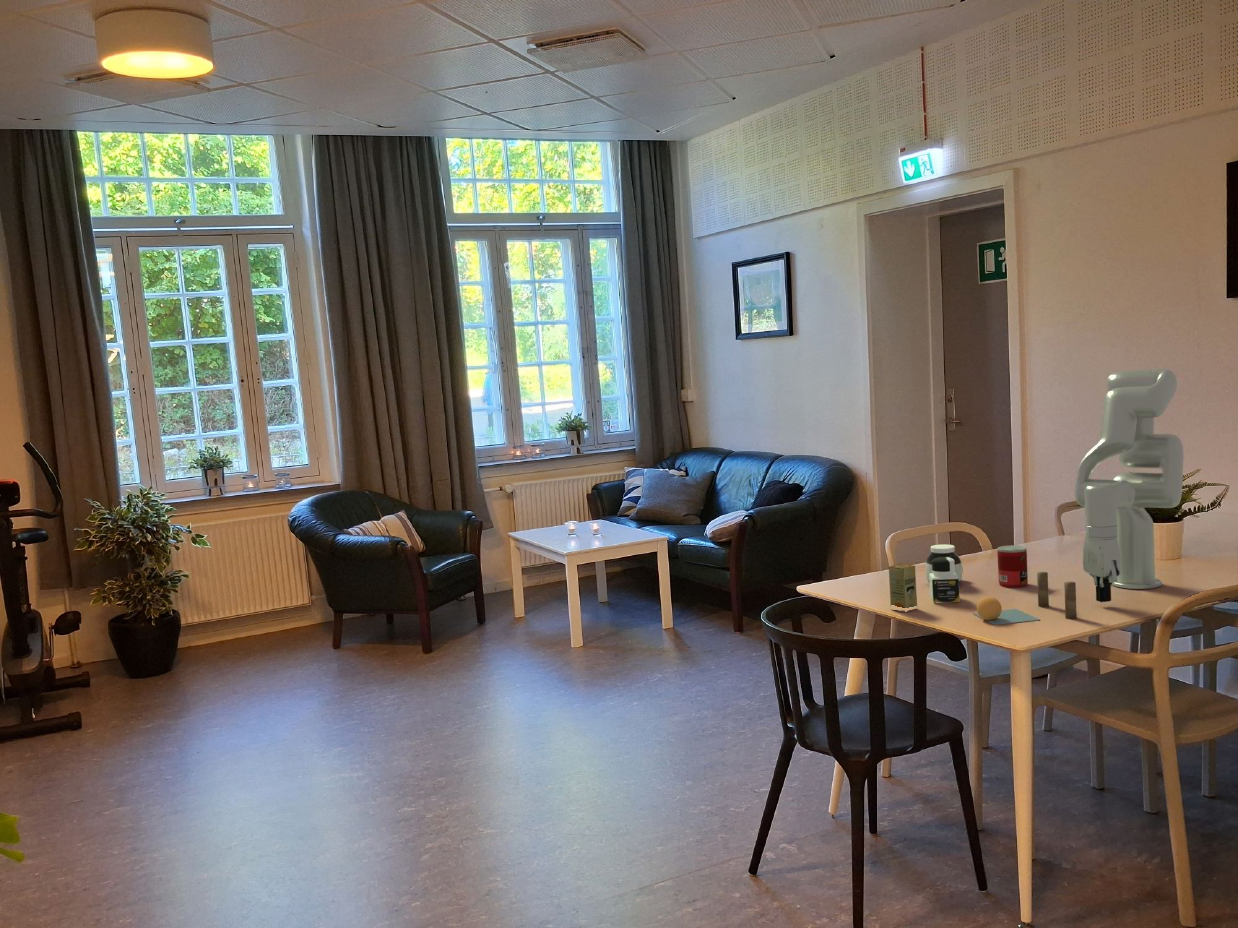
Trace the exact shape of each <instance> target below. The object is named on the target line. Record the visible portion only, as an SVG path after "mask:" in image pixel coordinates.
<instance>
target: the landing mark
mask: <svg viewBox="0 0 1238 928" xmlns="http://www.w3.org/2000/svg"><path fill="white" fill-rule="evenodd" d="M972 615H973V616H976V617H978V618H980V619H982V620H984V621H986V622H987V623H989V624H992V625H994V626H1000V625H1010V624H1018V623H1027V622H1026V621H1029V622H1035V621H1041V619H1040V618H1037V617H1035V616H1033V615H1030V614H1029V613H1026V612H1024V611H1023V610H1020V609H1018V608H1012V609H1011V608H1010V609H1003V610H1002V611H1001V614H1000V616H999V617H998V618H996V619H994V620H985V619H983V618H982V617H980V615H979V614H978V612H976V613H975V612H974V613H972Z"/></svg>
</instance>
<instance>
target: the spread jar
mask: <svg viewBox="0 0 1238 928" xmlns="http://www.w3.org/2000/svg"><path fill="white" fill-rule="evenodd" d="M955 548H956V547H955V545H953V544H945V543H944V544H935V545H931V546H930V552H931V553H929V554H928V556H927V557H926V559H925V576H926V580H927V582H928V583H929V584H930V581H929V574H930V573H932V560H933V559H935V558H938V557H949V558H952V559H954V562H955V573H956V575H957V576H958V578H959V584H960V583H961V581H962V580H963V573H964V572H963V571H964V567H963V565H962V564H963V563H962V561H961V557H960V556H959V555H958V554H957V553H956V552H955V551H956V550H955Z"/></svg>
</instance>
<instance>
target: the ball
mask: <svg viewBox="0 0 1238 928" xmlns="http://www.w3.org/2000/svg"><path fill="white" fill-rule="evenodd" d="M976 611H977V612H976V613H978V614H979V615H980V617H982V618H983V619H982V618H981V619H982V620H984V619H985V620H984V621H986V620H994V619H996V618H998V617H999V616H1000V614H1001V611H1002V604H1001V602H1000V601H999V600H998V599H996V598H995V597H992V596H985V597H982V598H981V599H980V600H979V601H978V602H977V605H976ZM980 617H979V618H980Z"/></svg>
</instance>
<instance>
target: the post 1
mask: <svg viewBox="0 0 1238 928" xmlns="http://www.w3.org/2000/svg"><path fill="white" fill-rule="evenodd" d="M1048 577H1049V574H1048V572H1046V571H1038V572H1036V579H1037V581H1036V582H1037V600H1038V601H1037V605H1038V607H1040V608H1048V607H1050V602H1049V601H1050V599H1049V597H1050V596H1049V578H1048Z"/></svg>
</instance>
